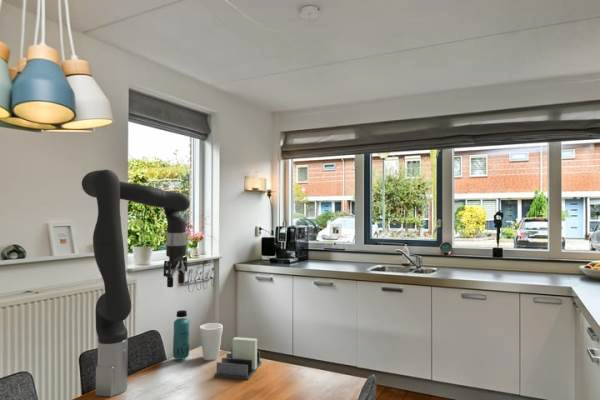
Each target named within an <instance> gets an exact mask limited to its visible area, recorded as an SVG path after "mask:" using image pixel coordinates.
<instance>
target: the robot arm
mask: <svg viewBox="0 0 600 400" xmlns="http://www.w3.org/2000/svg"><path fill="white" fill-rule="evenodd" d="M81 188H82V190H83V192H84V193H85V194H86V195H88V196H89V197H92V198H96V203H97V204H96V205H97V217H96V223H95V225H94V229H93V230H94V231H93V233H92V234H93V235H92V246H93V254H94V259H95V263H96V265H97V268H98V271H99V273H100V275H101V278H102V281H103V284H104V293H103V294H101V295H100V296H99V297H98V299H97V301H96V305H95V311H94V312H95V314H94V315H95V330H96V331H95V332H96V336H97V366H95V396H102V397H108V398H109V397H110V398H111V397H113V396H116V395H119V394H122V393H124V392H125V391H126V390H127V389H128V343H129V341H128V340H129V339H128V338H129V337H128V335H129V334H128V333H129V332H128V329H127V328H126V325H125V324H124V323H125V322H124V321H125V320H126V319H127V318H128V317H129V315H130V313H131V310H132V300H131V296H130V290H129V285H128V281H127V272H126V261H125V248H124V238H123V231H122V230H123V229H122V228H123V227H122V218H121V200H125V201H129V202H133V203H137V204H142V205H146V206H151V207H154V208H163V210H164V215H165V217H166V218H165V219H166V221H167V225H166V226H167V227H166V230H167V233H166V241H165V242H166V247H165V248H166V251H165V254H166V255H165V256H166V257H168V260H164V262H163V277H165V278H166V279H167V280H166V287H167V288H174V275H175V274H176V273H178V275H177V276H178V279H177V281H178V284H184V283H185V274H186V272H188V256H187V233H186V230H187V229H186V228H187V223H186V219H185V218H184V217H182V216H181V212H184V211H186V210H188V209H189V208H190V204H191V201H190V198H189V196H188V195H186V194H185V193H180V192H176V191H170V190H169V191H168V190H164V189H161V188H158V187H153V186H150V185H144V184H137V183H129V182H124V181H120V179H119V176H118V175H117V174H116V172H115V171H113V170H111V169H100V170H93V171H90V172H87V174H85V175H84V177H82V181H81Z"/></svg>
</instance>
